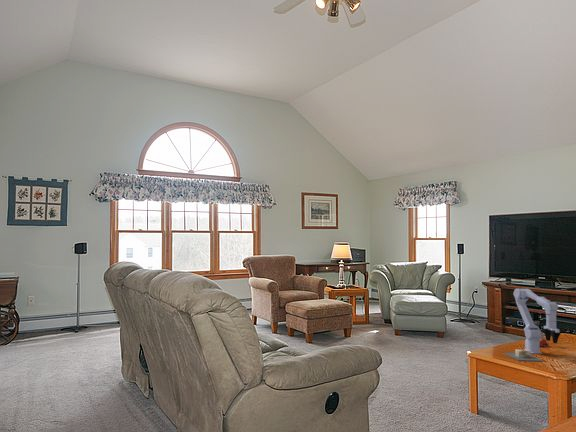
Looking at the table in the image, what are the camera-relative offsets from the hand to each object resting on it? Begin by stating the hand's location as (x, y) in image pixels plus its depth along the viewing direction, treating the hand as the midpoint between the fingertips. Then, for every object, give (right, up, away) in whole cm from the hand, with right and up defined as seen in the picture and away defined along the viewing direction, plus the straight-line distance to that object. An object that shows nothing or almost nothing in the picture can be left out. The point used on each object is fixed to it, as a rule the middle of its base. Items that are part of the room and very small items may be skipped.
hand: (551, 341), depth 295 cm
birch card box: (-19, -9, -1) cm, 22 cm away
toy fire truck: (+14, -13, +34) cm, 39 cm away
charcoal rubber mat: (-19, -10, -1) cm, 22 cm away
